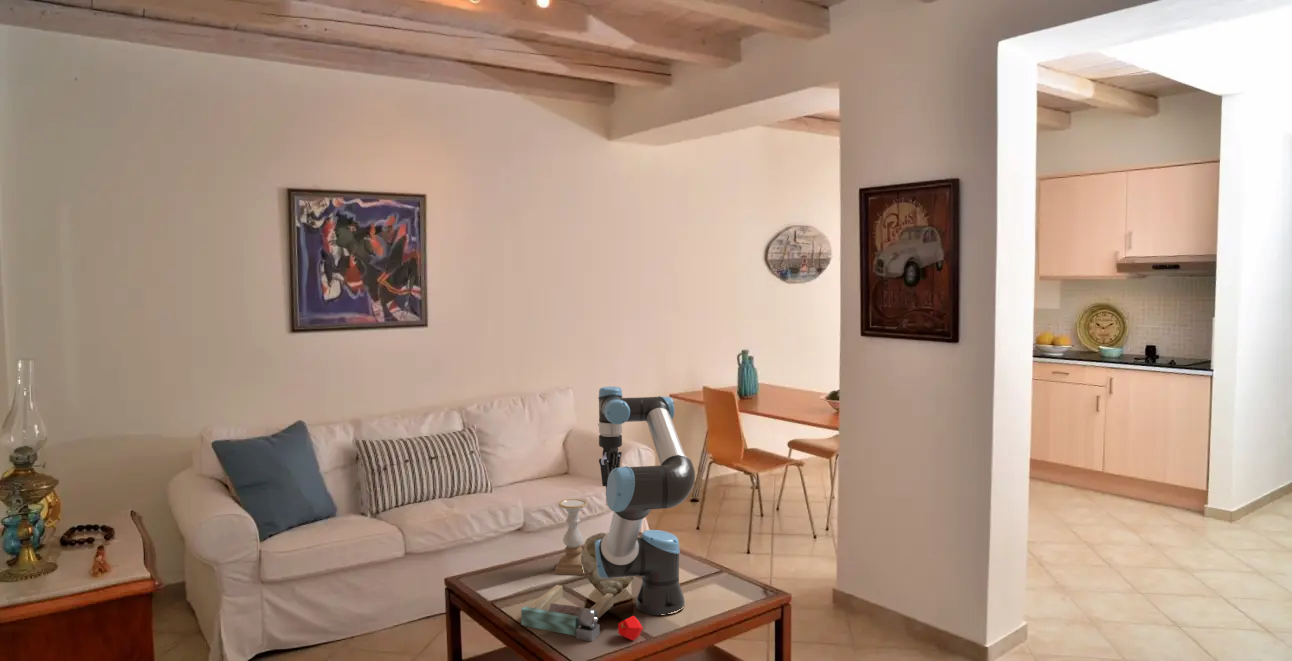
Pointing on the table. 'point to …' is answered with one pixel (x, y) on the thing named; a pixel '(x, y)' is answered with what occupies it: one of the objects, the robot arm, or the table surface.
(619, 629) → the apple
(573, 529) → the candle holder
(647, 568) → the robot arm
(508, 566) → the table surface
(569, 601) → the table surface
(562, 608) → the stone
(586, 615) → the winch
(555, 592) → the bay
